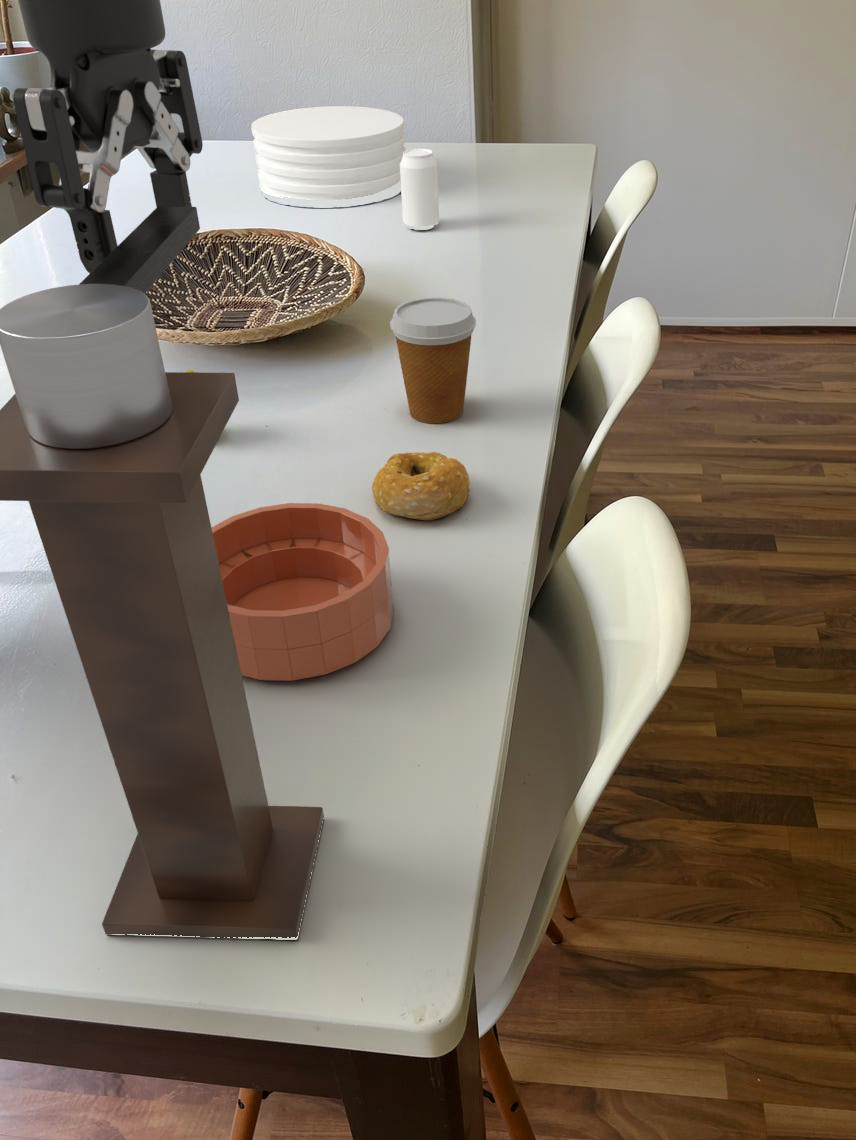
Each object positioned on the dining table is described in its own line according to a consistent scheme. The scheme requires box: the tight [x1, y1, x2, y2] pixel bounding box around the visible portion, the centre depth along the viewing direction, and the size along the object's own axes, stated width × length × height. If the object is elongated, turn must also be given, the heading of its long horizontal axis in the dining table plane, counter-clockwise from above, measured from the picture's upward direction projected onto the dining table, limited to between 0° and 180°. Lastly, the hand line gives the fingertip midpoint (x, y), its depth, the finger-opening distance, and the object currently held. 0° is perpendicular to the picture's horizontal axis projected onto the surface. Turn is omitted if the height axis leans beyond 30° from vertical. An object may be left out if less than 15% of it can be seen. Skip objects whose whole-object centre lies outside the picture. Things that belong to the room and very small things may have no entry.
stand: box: [0, 371, 325, 938], centre depth 57 cm, size 12×10×32 cm
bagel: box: [371, 451, 471, 521], centre depth 102 cm, size 10×11×5 cm
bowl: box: [211, 502, 395, 682], centre depth 86 cm, size 17×17×7 cm
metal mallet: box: [0, 206, 201, 449], centre depth 50 cm, size 6×19×5 cm, turn 178°
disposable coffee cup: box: [389, 296, 477, 424], centre depth 116 cm, size 10×10×12 cm
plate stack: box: [250, 105, 406, 201], centre depth 192 cm, size 28×28×12 cm
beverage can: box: [400, 148, 440, 227], centre depth 172 cm, size 6×6×12 cm
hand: (143, 252), depth 65 cm, fingers open, 8 cm apart
